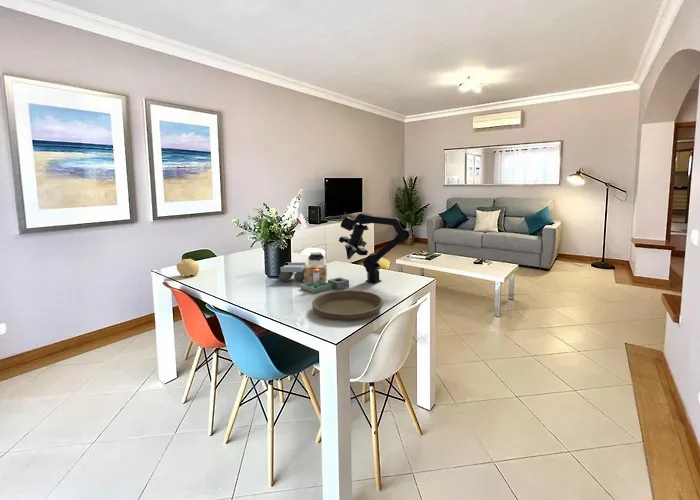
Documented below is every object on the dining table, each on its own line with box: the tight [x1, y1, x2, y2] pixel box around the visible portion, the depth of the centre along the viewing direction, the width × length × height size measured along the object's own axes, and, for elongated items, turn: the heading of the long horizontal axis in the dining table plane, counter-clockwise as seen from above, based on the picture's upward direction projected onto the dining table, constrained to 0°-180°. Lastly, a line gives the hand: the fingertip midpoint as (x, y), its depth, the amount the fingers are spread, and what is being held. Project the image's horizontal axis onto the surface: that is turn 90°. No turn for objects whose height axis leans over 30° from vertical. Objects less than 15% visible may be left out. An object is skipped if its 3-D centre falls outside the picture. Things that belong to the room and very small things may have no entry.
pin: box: [312, 269, 320, 288], centre depth 194 cm, size 4×4×10 cm
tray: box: [300, 280, 334, 295], centre depth 195 cm, size 12×12×2 cm
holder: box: [327, 276, 350, 291], centre depth 197 cm, size 8×8×4 cm
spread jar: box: [307, 249, 326, 265], centre depth 236 cm, size 12×11×12 cm
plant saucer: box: [311, 289, 384, 322], centre depth 162 cm, size 31×31×5 cm
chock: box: [303, 264, 328, 284], centre depth 209 cm, size 12×6×9 cm, turn 86°
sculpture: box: [176, 258, 200, 278], centre depth 229 cm, size 12×12×11 cm
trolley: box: [278, 262, 307, 283], centre depth 214 cm, size 15×12×9 cm
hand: (348, 259), depth 210 cm, fingers closed
